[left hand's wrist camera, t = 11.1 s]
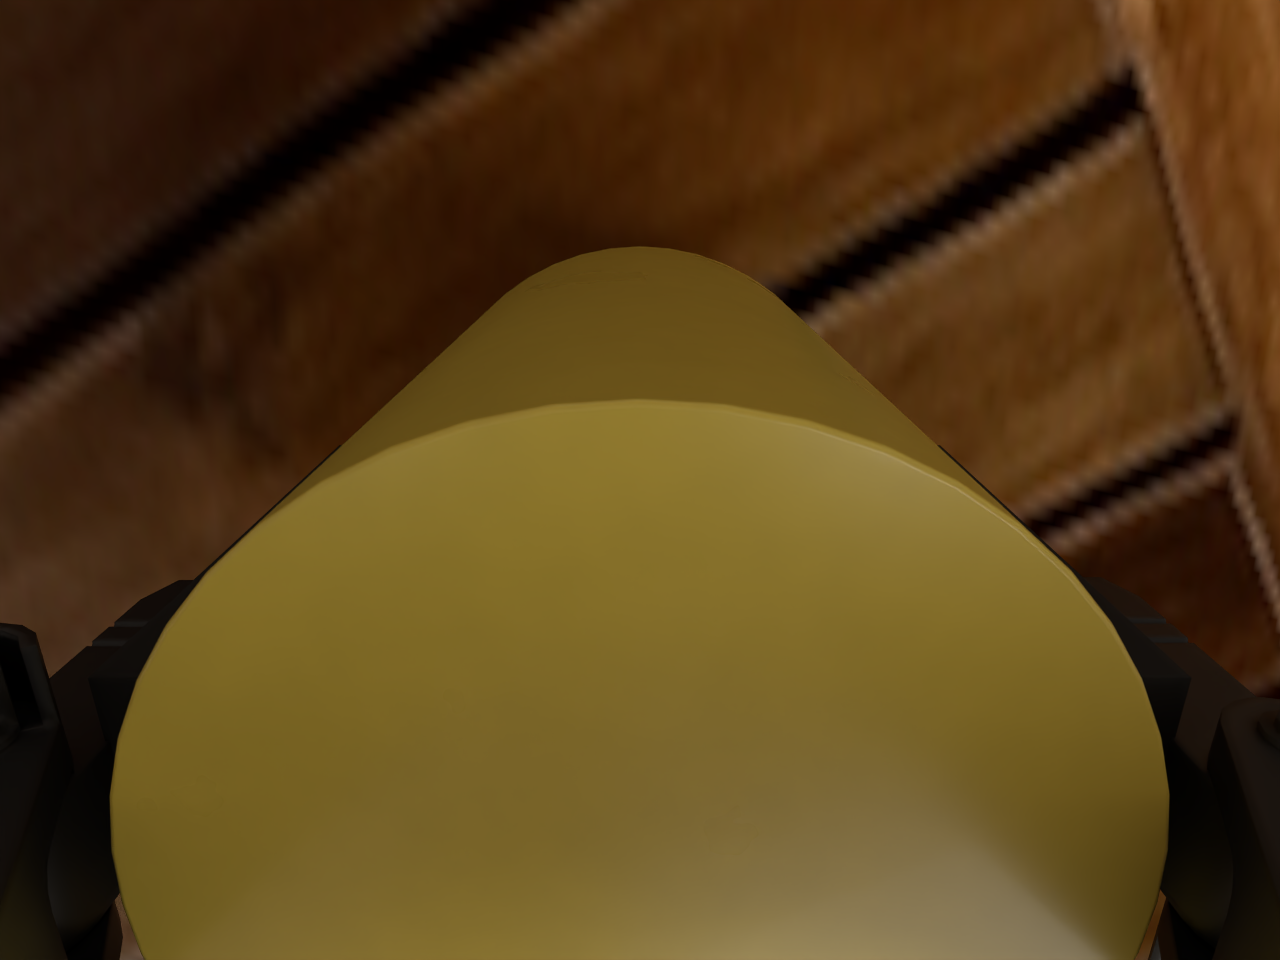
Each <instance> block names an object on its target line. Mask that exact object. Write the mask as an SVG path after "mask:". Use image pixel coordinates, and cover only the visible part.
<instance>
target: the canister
mask: <svg viewBox="0 0 1280 960" xmlns="http://www.w3.org/2000/svg"><path fill="white" fill-rule="evenodd" d="M110 822H111V851H112V856H113V861H114V866H115V871H116V875H117V880H118V885H119V890H120V895H121V900H122V904H123V907H124V909H125V912H126V915H127V917H128V920H129V923H130V925H131V928H132V931H133V933H134V936H135V938H136V941H137V944H138V946H139V949H140V952H141V954H142V956H143V958H144V959H145V960H1134V959H1135V958H1136V956H1137V954H1138V952H1139V950H1140V947H1141V944H1142V942H1143V939H1144V936H1145V934H1146V931H1147V928H1148V926H1149V923H1150V920H1151V918H1152V915H1153V912H1154V910H1155V907H1156V904H1157V901H1158V896H1159V891H1160V886H1161V881H1162V876H1163V871H1164V866H1165V861H1166V856H1167V851H1168V828H1169V788H1168V781H1167V774H1166V767H1165V760H1164V754H1163V747H1162V740H1161V735H1160V732H1159V729H1158V726H1157V723H1156V720H1155V717H1154V714H1153V711H1152V708H1151V705H1150V702H1149V699H1148V696H1147V692H1146V689H1145V686H1144V683H1143V680H1142V678H1141V676H1140V674H1139V672H1138V670H1137V668H1136V667H1135V665H1134V663H1133V661H1132V659H1131V657H1130V655H1129V654H1128V652H1127V650H1126V648H1125V646H1124V644H1123V642H1122V640H1121V639H1120V637H1119V635H1118V633H1117V631H1116V629H1115V627H1114V626H1113V624H1112V622H1111V621H1110V620H1109V618H1108V617H1107V616H1106V615H1105V613H1104V612H1103V611H1102V609H1101V608H1100V607H1099V606H1098V604H1097V603H1096V602H1095V600H1094V599H1093V598H1092V596H1091V595H1090V594H1089V593H1088V591H1087V590H1086V589H1085V587H1084V586H1083V585H1082V584H1081V582H1080V581H1079V580H1078V578H1077V577H1076V576H1075V575H1074V573H1073V572H1072V571H1071V570H1070V569H1069V568H1068V567H1067V566H1066V565H1065V564H1064V563H1063V562H1062V561H1061V560H1060V559H1058V558H1057V557H1056V556H1055V555H1054V554H1053V553H1052V552H1051V551H1050V550H1049V549H1048V548H1047V547H1046V546H1045V545H1043V544H1042V543H1041V542H1040V541H1039V540H1038V539H1037V538H1036V537H1035V536H1034V535H1033V534H1032V533H1031V532H1030V531H1028V530H1027V529H1026V528H1025V527H1024V526H1023V525H1022V524H1021V523H1020V522H1019V521H1018V520H1017V519H1016V518H1015V517H1013V516H1012V515H1011V514H1010V513H1009V512H1008V511H1007V510H1006V509H1005V508H1004V507H1003V506H1002V505H1001V504H999V503H998V502H997V501H996V500H995V499H994V498H993V497H992V496H991V495H990V494H989V493H988V492H987V491H985V490H984V489H983V488H982V487H981V486H980V485H979V484H978V483H977V482H976V481H975V480H974V479H973V478H972V477H970V476H969V475H968V474H967V473H966V472H965V471H964V470H963V469H962V468H961V467H960V466H959V465H958V464H956V463H955V462H954V461H953V460H952V459H951V458H950V457H949V456H948V455H947V454H946V453H945V452H944V451H942V450H941V449H940V448H939V447H938V446H937V445H936V444H935V443H934V442H933V441H932V440H931V439H930V438H928V437H927V436H926V435H925V434H924V433H923V432H922V431H921V430H920V429H919V428H918V427H917V426H916V425H914V424H913V423H912V422H911V421H910V420H909V419H908V418H907V417H906V416H905V415H904V414H903V413H902V412H901V411H899V410H898V409H897V408H896V407H895V406H894V405H893V404H892V403H891V402H890V401H889V400H888V399H887V398H885V397H884V396H883V395H882V394H881V393H880V392H879V391H878V390H877V389H876V388H875V387H874V386H873V385H871V384H870V383H869V382H868V381H867V380H866V379H865V378H864V377H863V376H862V375H861V374H860V373H859V372H857V371H856V370H855V369H854V368H853V367H852V366H851V365H850V364H849V363H848V362H847V361H846V360H845V359H843V358H842V357H841V356H840V355H839V354H838V353H837V352H836V351H835V350H834V349H833V348H832V347H831V346H830V345H828V344H827V343H826V342H825V341H824V340H823V339H822V338H821V337H820V336H819V335H818V334H817V333H816V332H814V331H813V330H812V329H811V328H810V327H809V326H808V325H807V324H806V323H805V322H804V321H803V320H802V319H800V318H799V317H798V316H797V315H796V314H795V313H794V312H793V311H792V310H791V309H790V308H789V307H788V306H786V305H785V304H784V303H783V302H782V301H781V300H780V299H779V298H778V297H777V296H776V295H775V294H774V293H772V292H771V291H769V290H768V289H767V288H765V287H764V286H762V285H761V284H759V283H758V282H757V281H755V280H754V279H752V278H751V277H749V276H747V275H745V274H743V273H741V272H740V271H738V270H736V269H734V268H732V267H730V266H728V265H726V264H724V263H721V262H718V261H715V260H712V259H709V258H707V257H704V256H701V255H698V254H694V253H689V252H684V251H679V250H674V249H669V248H656V247H641V246H638V247H623V248H610V249H605V250H600V251H595V252H590V253H586V254H581V255H578V256H576V257H573V258H570V259H567V260H564V261H561V262H559V263H556V264H553V265H551V266H550V267H548V268H546V269H544V270H542V271H540V272H538V273H536V274H534V275H532V276H530V277H528V278H527V279H526V280H524V281H523V282H521V283H520V284H519V285H517V286H516V287H514V288H513V289H511V290H510V291H509V292H507V293H506V294H505V295H504V296H503V297H501V298H500V299H499V300H498V301H497V302H496V303H495V304H494V305H493V306H492V307H491V308H490V309H489V310H487V311H486V312H485V313H484V314H483V315H482V316H481V317H480V318H479V319H478V320H477V321H476V322H475V323H473V324H472V325H471V326H470V327H469V328H468V329H467V330H466V331H465V332H464V333H463V334H462V335H461V336H459V337H458V338H457V339H456V340H455V341H454V342H453V343H452V344H451V345H450V346H449V347H448V348H447V349H445V350H444V351H443V352H442V353H441V354H440V355H439V356H438V357H437V358H436V359H435V360H434V361H433V362H431V363H430V364H429V365H428V366H427V367H426V368H425V369H424V370H423V371H422V372H421V373H420V374H419V375H417V376H416V377H415V378H414V379H413V380H412V381H411V382H410V383H409V384H408V385H407V386H406V387H405V388H403V389H402V390H401V391H400V392H399V393H398V394H397V395H396V396H395V397H394V398H393V399H392V400H391V401H389V402H388V403H387V404H386V405H385V406H384V407H383V408H382V409H381V410H380V411H379V412H378V413H377V414H375V415H374V416H373V417H372V418H371V419H370V420H369V421H368V422H367V423H366V424H365V425H364V426H363V427H361V428H360V429H359V430H358V431H357V432H356V433H355V434H354V435H353V436H352V437H351V438H350V439H349V440H347V441H346V442H345V443H344V444H343V445H342V446H341V447H340V448H339V449H338V450H337V451H336V452H335V453H333V454H332V455H331V456H330V457H329V458H328V459H327V460H326V461H325V462H324V463H323V464H322V465H321V466H319V467H318V468H317V469H316V470H315V471H314V472H313V473H312V474H311V475H310V476H309V477H308V478H307V479H305V480H304V481H303V482H302V483H301V484H300V485H299V486H298V487H297V488H296V489H295V490H294V491H293V492H291V493H290V494H289V495H288V496H287V497H286V498H285V499H284V500H283V501H282V502H281V503H280V504H279V505H277V506H276V507H275V508H274V509H273V510H272V511H271V512H270V513H269V514H268V515H267V516H266V517H265V518H263V519H262V520H261V521H260V522H259V523H258V524H257V525H256V526H255V527H254V528H253V529H252V530H251V531H250V532H249V533H247V534H246V535H245V536H244V537H243V538H242V539H241V540H240V541H239V542H238V543H237V544H236V545H235V546H234V547H233V548H232V549H230V550H229V551H228V552H227V553H226V554H225V555H224V556H223V557H222V558H221V559H220V560H219V561H218V562H217V563H216V564H215V565H214V566H212V567H211V568H210V569H209V570H208V571H207V572H206V573H205V575H204V576H203V577H202V579H201V580H200V581H199V583H198V584H197V585H196V586H195V588H194V589H193V590H192V592H191V593H190V594H189V596H188V597H187V598H186V599H185V601H184V602H183V603H182V605H181V606H180V607H179V609H178V610H177V611H176V612H175V614H174V615H173V616H172V618H171V619H170V620H169V622H168V623H167V624H166V626H165V628H164V630H163V631H162V633H161V635H160V637H159V639H158V641H157V643H156V645H155V646H154V648H153V650H152V652H151V654H150V656H149V658H148V660H147V662H146V663H145V665H144V667H143V669H142V671H141V673H140V675H139V677H138V679H137V681H136V684H135V687H134V690H133V693H132V696H131V699H130V702H129V705H128V708H127V711H126V714H125V717H124V721H123V724H122V727H121V730H120V733H119V736H118V740H117V747H116V754H115V762H114V769H113V776H112V783H111V790H110Z"/></svg>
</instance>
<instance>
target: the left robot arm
mask: <svg viewBox="0 0 1280 960" xmlns="http://www.w3.org/2000/svg"><path fill="white" fill-rule="evenodd" d="M341 446H342V445H339V446H338V447H337V448H336V449H335V450H334V451H333V452H332V453H331V454H330V455H329V456H327V457H326V458H325V459H324V460H323V461H322V462H321V463H320V464H319V465H318V466H317V467H316V468H314V469H313V470H312V471H311V472H310V473H309V474H308V475H307V476H306V477H305V478H304V479H303V480H301V481H300V482H299V483H298V484H297V485H296V486H295V487H294V488H293V489H292V490H291V491H290V492H288V493H287V494H286V495H285V496H284V497H283V498H282V499H281V500H280V501H279V502H278V503H277V504H275V505H274V506H273V507H272V508H271V509H270V510H269V511H268V512H267V513H266V514H265V515H264V516H262V517H261V518H260V519H259V520H258V521H257V522H256V523H255V524H254V525H253V526H252V527H251V528H249V529H248V530H247V531H246V532H245V533H244V534H243V535H242V536H241V537H240V538H239V539H238V540H236V541H235V542H234V543H233V544H232V545H231V546H230V547H229V548H228V549H227V550H226V551H225V552H224V553H222V554H221V555H220V556H219V557H218V558H217V559H216V560H215V561H214V562H213V563H212V564H211V565H209V566H208V567H207V568H206V569H205V570H204V571H203V572H202V573H201V574H200V575H199V576H198V577H196V578H195V579H194V580H178V581H176V582H174V583H172V584H171V585H169V586H167V587H165V588H163V589H161V590H159V591H157V592H155V593H153V594H151V595H149V596H147V597H145V598H143V599H141V600H140V601H138V602H137V603H136V604H135V605H134V606H133V607H132V608H130V609H129V610H128V611H127V612H126V613H125V614H123V615H122V616H121V617H120V618H119V619H118V620H117V621H115V622H114V623H115V625H114V627H108V628H107V629H106V630H105V631H104V632H103V633H101V634H100V635H99V636H98V637H97V638H96V639H95V640H93V641H92V643H93V644H92V646H86V647H85V648H84V649H83V650H82V651H81V652H79V653H78V654H77V655H76V656H75V657H74V658H73V659H71V660H70V661H69V662H68V663H67V664H66V665H64V666H63V667H62V668H61V669H60V670H59V671H58V672H56V673H55V674H54V675H53V676H52V677H51V678H49V676H48V673H47V670H46V666H45V663H44V659H43V656H42V653H41V649H40V646H39V642H38V639H37V636H36V633H35V632H33V631H32V630H30V629H28V628H26V627H25V626H23V625H16V624H6V623H0V960H119V959H120V952H121V946H122V939H123V935H122V928H121V921H120V917H119V914H118V910H117V907H116V904H115V899H116V897H117V896H118V895H119V893H120V890H119V885H118V880H117V875H116V871H115V866H114V861H113V856H112V851H111V822H110V790H111V783H112V776H113V769H114V762H115V754H116V747H117V740H118V736H119V733H120V730H121V727H122V724H123V721H124V717H125V714H126V711H127V708H128V705H129V702H130V699H131V696H132V693H133V690H134V687H135V684H136V681H137V679H138V677H139V675H140V673H141V671H142V669H143V667H144V665H145V663H146V662H147V660H148V658H149V656H150V654H151V652H152V650H153V648H154V646H155V645H156V643H157V641H158V639H159V637H160V635H161V633H162V631H163V630H164V628H165V626H166V624H167V623H168V622H169V620H170V619H171V618H172V616H173V615H174V614H175V612H176V611H177V610H178V609H179V607H180V606H181V605H182V603H183V602H184V601H185V599H186V598H187V597H188V596H189V594H190V593H191V592H192V590H193V589H194V588H195V586H196V585H197V584H198V583H199V581H200V580H201V579H202V577H203V576H204V575H205V573H206V572H207V571H208V570H209V569H210V568H211V567H212V566H214V565H215V564H216V563H217V562H218V561H219V560H220V559H221V558H222V557H223V556H224V555H225V554H226V553H227V552H228V551H229V550H230V549H232V548H233V547H234V546H235V545H236V544H237V543H238V542H239V541H240V540H241V539H242V538H243V537H244V536H245V535H246V534H247V533H249V532H250V531H251V530H252V529H253V528H254V527H255V526H256V525H257V524H258V523H259V522H260V521H261V520H262V519H263V518H265V517H266V516H267V515H268V514H269V513H270V512H271V511H272V510H273V509H274V508H275V507H276V506H277V505H279V504H280V503H281V502H282V501H283V500H284V499H285V498H286V497H287V496H288V495H289V494H290V493H291V492H293V491H294V490H295V489H296V488H297V487H298V486H299V485H300V484H301V483H302V482H303V481H304V480H305V479H307V478H308V477H309V476H310V475H311V474H312V473H313V472H314V471H315V470H316V469H317V468H318V467H319V466H321V465H322V464H323V463H324V462H325V461H326V460H327V459H328V458H329V457H330V456H331V455H332V454H333V453H335V452H336V451H337V450H338V449H339V448H340V447H341ZM937 446H938V447H939V448H940V449H941V450H942V451H944V452H945V453H946V454H947V455H948V456H949V457H950V458H951V459H952V460H953V461H954V462H955V463H956V464H958V465H959V466H960V467H961V468H962V469H963V470H964V471H965V472H966V473H967V474H968V475H969V476H970V477H972V478H973V479H974V480H975V481H976V482H977V483H978V484H979V485H980V486H981V487H982V488H983V489H984V490H985V491H987V492H988V493H989V494H990V495H991V496H992V497H993V498H994V499H995V500H996V501H997V502H998V503H999V504H1001V505H1002V506H1003V507H1004V508H1005V509H1006V510H1007V511H1008V512H1009V513H1010V514H1011V515H1012V516H1013V517H1015V518H1016V519H1017V520H1018V521H1019V522H1020V523H1021V524H1022V525H1023V526H1024V527H1025V528H1026V529H1027V530H1028V531H1030V532H1031V533H1032V534H1033V535H1034V536H1035V537H1036V538H1037V539H1038V540H1039V541H1040V542H1041V543H1042V544H1043V545H1045V546H1046V547H1047V548H1048V549H1049V550H1050V551H1051V552H1052V553H1053V554H1054V555H1055V556H1056V557H1057V558H1058V559H1060V560H1061V561H1062V562H1063V563H1064V564H1065V565H1066V566H1067V567H1068V568H1069V569H1070V570H1071V571H1072V572H1073V573H1074V575H1075V576H1076V577H1077V578H1078V580H1079V581H1080V582H1081V584H1082V585H1083V586H1084V587H1085V589H1086V590H1087V591H1088V593H1089V594H1090V595H1091V596H1092V598H1093V599H1094V600H1095V602H1096V603H1097V604H1098V606H1099V607H1100V608H1101V609H1102V611H1103V612H1104V613H1105V615H1106V616H1107V617H1108V618H1109V620H1110V621H1111V622H1112V624H1113V626H1114V627H1115V629H1116V631H1117V633H1118V635H1119V637H1120V639H1121V640H1122V642H1123V644H1124V646H1125V648H1126V650H1127V652H1128V654H1129V655H1130V657H1131V659H1132V661H1133V663H1134V665H1135V667H1136V668H1137V670H1138V672H1139V674H1140V676H1141V678H1142V680H1143V683H1144V686H1145V689H1146V692H1147V696H1148V699H1149V702H1150V705H1151V708H1152V711H1153V714H1154V717H1155V720H1156V723H1157V726H1158V729H1159V732H1160V735H1161V740H1162V747H1163V754H1164V760H1165V767H1166V774H1167V781H1168V788H1169V828H1168V851H1167V856H1166V861H1165V866H1164V871H1163V876H1162V881H1161V886H1160V889H1161V891H1162V892H1163V894H1164V895H1165V896H1166V900H1165V904H1164V907H1163V910H1162V914H1161V917H1160V920H1159V924H1158V927H1157V931H1156V934H1155V937H1154V941H1153V944H1152V948H1151V951H1150V954H1149V958H1148V960H1280V699H1272V698H1264V697H1256V696H1255V695H1254V694H1252V693H1251V692H1250V691H1249V690H1248V689H1247V688H1245V687H1244V686H1243V685H1242V684H1241V683H1240V682H1238V681H1237V680H1236V679H1235V678H1234V677H1233V676H1231V675H1230V674H1229V673H1228V672H1227V671H1226V670H1224V669H1223V668H1222V667H1221V666H1220V665H1219V664H1217V663H1216V662H1215V661H1214V660H1213V659H1212V658H1210V657H1209V656H1208V655H1207V654H1206V653H1205V652H1203V651H1202V650H1201V649H1200V648H1199V647H1198V646H1196V645H1195V644H1194V643H1188V638H1187V637H1186V636H1185V635H1184V634H1182V633H1181V632H1180V631H1179V630H1178V629H1177V628H1175V627H1174V626H1173V625H1172V624H1166V619H1165V618H1164V617H1163V616H1161V615H1160V614H1159V613H1158V612H1157V611H1156V610H1154V609H1153V608H1152V607H1151V606H1150V605H1149V604H1147V603H1146V602H1145V601H1144V600H1143V599H1142V598H1140V597H1139V596H1137V595H1135V594H1133V593H1131V592H1129V591H1127V590H1125V589H1123V588H1121V587H1119V586H1117V585H1115V584H1113V583H1111V582H1109V581H1107V580H1105V579H1103V578H1101V577H1082V576H1081V575H1080V574H1079V573H1078V572H1076V571H1075V570H1074V569H1073V568H1072V567H1071V566H1070V565H1069V564H1068V563H1067V562H1066V561H1065V560H1063V559H1062V558H1061V557H1060V556H1059V555H1058V554H1057V553H1056V552H1055V551H1054V550H1053V549H1052V548H1050V547H1049V546H1048V545H1047V544H1046V543H1045V542H1044V541H1043V540H1042V539H1041V538H1040V537H1039V536H1037V535H1036V534H1035V533H1034V532H1033V531H1032V530H1031V529H1030V528H1029V527H1028V526H1027V525H1026V524H1024V523H1023V522H1022V521H1021V520H1020V519H1019V518H1018V517H1017V516H1016V515H1015V514H1014V513H1013V512H1012V511H1010V510H1009V509H1008V508H1007V507H1006V506H1005V505H1004V504H1003V503H1002V502H1001V501H1000V500H999V499H997V498H996V497H995V496H994V495H993V494H992V493H991V492H990V491H989V490H988V489H987V488H986V487H984V486H983V485H982V484H981V483H980V482H979V481H978V480H977V479H976V478H975V477H974V476H973V475H971V474H970V473H969V472H968V471H967V470H966V469H965V468H964V467H963V466H962V465H961V464H960V463H958V462H957V461H956V460H955V459H954V458H953V457H952V456H951V455H950V454H949V453H948V452H947V451H945V450H944V449H943V448H942V447H941V446H940V445H937Z"/></svg>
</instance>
